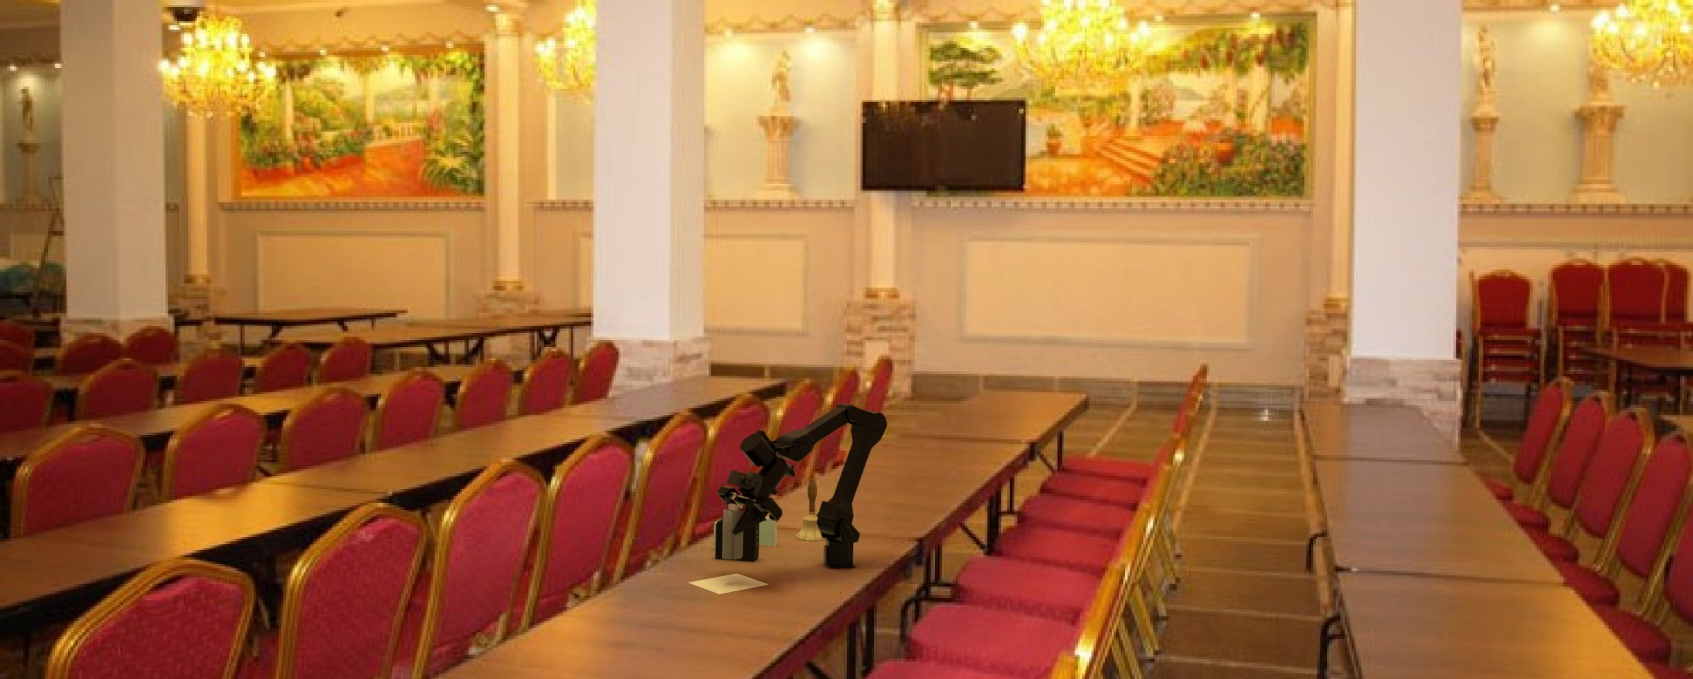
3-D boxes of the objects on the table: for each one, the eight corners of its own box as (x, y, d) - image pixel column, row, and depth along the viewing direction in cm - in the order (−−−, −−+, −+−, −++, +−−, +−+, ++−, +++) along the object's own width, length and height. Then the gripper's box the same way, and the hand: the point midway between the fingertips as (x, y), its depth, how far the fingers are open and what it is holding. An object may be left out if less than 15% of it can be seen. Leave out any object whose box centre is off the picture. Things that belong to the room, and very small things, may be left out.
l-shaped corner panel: (713, 551, 342) (714, 522, 342) (734, 542, 353) (735, 513, 353) (756, 556, 338) (756, 527, 337) (776, 547, 349) (776, 518, 348)
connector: (735, 553, 312) (737, 501, 311) (746, 557, 309) (747, 504, 308) (718, 556, 308) (719, 504, 307) (728, 560, 305) (729, 507, 304)
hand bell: (826, 541, 355) (827, 481, 354) (795, 540, 355) (796, 480, 354) (827, 534, 363) (828, 476, 362) (796, 533, 364) (798, 475, 362)
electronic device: (754, 564, 329) (755, 523, 328) (714, 560, 331) (715, 520, 330) (758, 560, 333) (759, 520, 332) (719, 556, 335) (720, 517, 334)
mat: (737, 575, 318) (737, 573, 317) (768, 586, 309) (768, 584, 309) (688, 584, 308) (688, 582, 308) (719, 596, 299) (719, 593, 299)
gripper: (724, 451, 316) (684, 503, 310) (773, 463, 302) (733, 517, 296) (750, 481, 322) (711, 532, 316) (799, 493, 308) (760, 547, 302)
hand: (728, 531), depth 307 cm, fingers closed on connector, 4 cm apart
